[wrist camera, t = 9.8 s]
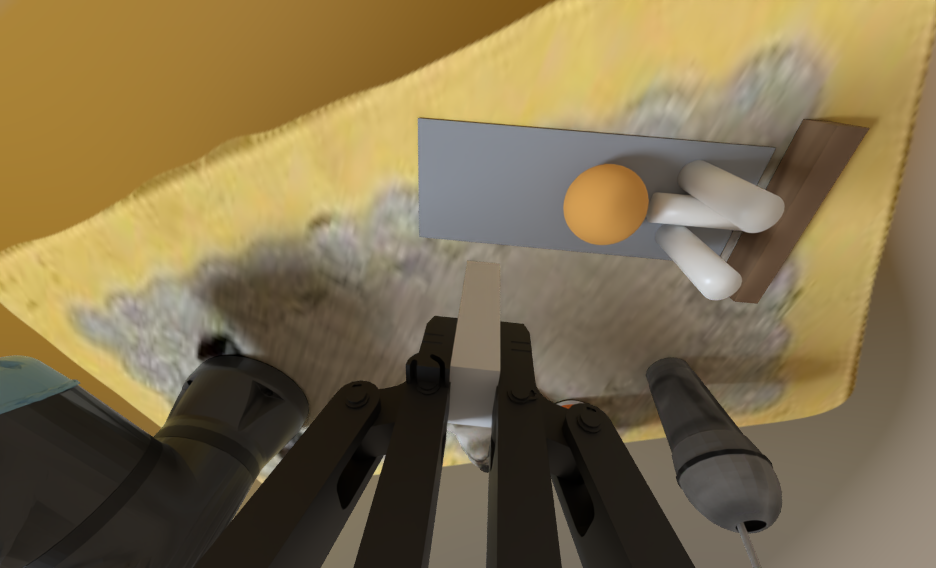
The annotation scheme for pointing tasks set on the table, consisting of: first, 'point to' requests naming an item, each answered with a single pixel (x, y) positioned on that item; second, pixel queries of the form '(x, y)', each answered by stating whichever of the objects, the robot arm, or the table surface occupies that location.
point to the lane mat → (551, 182)
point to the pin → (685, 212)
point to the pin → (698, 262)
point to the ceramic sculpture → (474, 443)
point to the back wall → (794, 201)
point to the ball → (605, 204)
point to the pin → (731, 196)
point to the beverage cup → (714, 455)
